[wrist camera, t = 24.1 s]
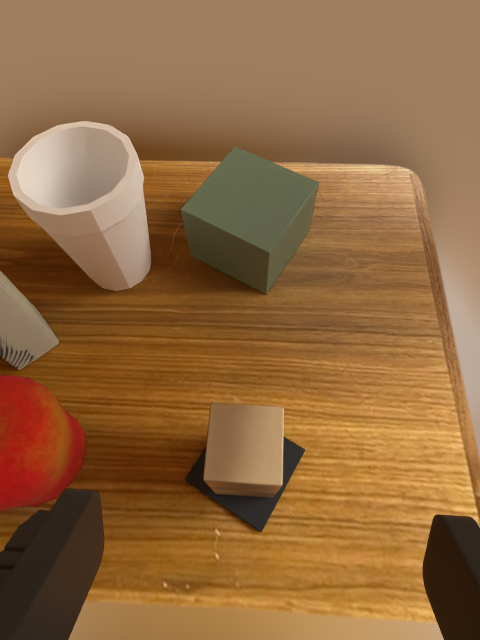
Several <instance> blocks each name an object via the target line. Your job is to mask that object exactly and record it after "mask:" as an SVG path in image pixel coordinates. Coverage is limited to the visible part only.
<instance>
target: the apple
mask: <svg viewBox="0 0 480 640" xmlns="http://www.w3.org/2000/svg"><path fill="white" fill-rule="evenodd" d="M85 453H86V438H85V433H84V431H83V430H82V428H81V426H80V425H79V423H78V421H77V420H76V419H75V418H73V417H72V416H71V415H70V414H68V413H67V412H66V411H65V410H64V409H63V407H62V406H61V404H60V403H59V401H58V400H57V398H56V397H55V396H54V395H53V394H52V393H51V392H50V391H49V390H48V389H47V388H46V387H44V386H42V385H40V384H39V383H37V382H35V381H33V380H32V379H30V378H26V377H18V376H10V375H1V376H0V512H1V511H4V510H8V509H11V508H14V507H18V506H39V505H41V504H43V503H46V502H48V501H50V500H53V499H55V498H56V497H57V496H58V495H59V494H61V493H62V492H63V491H64V490H65V489H66V488H67V487H68V486H69V485H70V484H71V483H72V481H73V480H74V478H75V477H76V475H77V474H78V472H79V471H80V470H81V467H82V464H83V460H84V457H85Z"/></svg>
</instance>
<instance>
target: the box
mask: <svg viewBox="0 0 480 640" xmlns="http://www.w3.org/2000/svg"><path fill="white" fill-rule="evenodd" d="M58 344H59V341H58V339H57V338H56V336H55V334H54V333H53V331H52V330H51V328H50V327H49V325H48V324H47V323H46V321H45V320H44V318H43V317H42V316H41V314H40V313H39V312H38V310H37V309H36V308H35V307H34V306H33V305H32V304H31V303H30V302H29V301H28V299H27V298H26V297H25V296H24V295H23V294H22V293H21V292H20V291H19V290H18V289H17V288H16V287H15V286H14V285H13V284H12V282H11V281H10V280H9V279H8V278H7V277H6V276H5V275H4V274H3V273H2V272H1V271H0V357H1V358H2V359H4V360H5V361H6V362H8V363H9V364H11V365H12V366H13V367H15V368H16V369H18V370H20V369H22V368H24V367H25V366H27V365H28V364H30V363H31V362H33V361H35V360H36V359H38V358H39V357H41V356H42V355H44V354H45V353H46V352H48V351H49V350H51V349H52V348H53V347H55V346H56V345H58Z"/></svg>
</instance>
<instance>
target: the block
mask: <svg viewBox="0 0 480 640" xmlns="http://www.w3.org/2000/svg"><path fill="white" fill-rule="evenodd" d="M283 438H284V408H283V407H273V406H256V405H239V404H223V403H211V404H210V414H209V424H208V434H207V445H206V455H205V465H204V475H203V480H204V481H205V482H206V484H207V485H208V486H209V487H210V488H211V489H212V490H213V491H214V493H215V494H223V495H237V496H252V497H267V498H273V497H274V495H275V494H276V493H277V491H278V490H279V489H280V488H281V486H282V485H283Z"/></svg>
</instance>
